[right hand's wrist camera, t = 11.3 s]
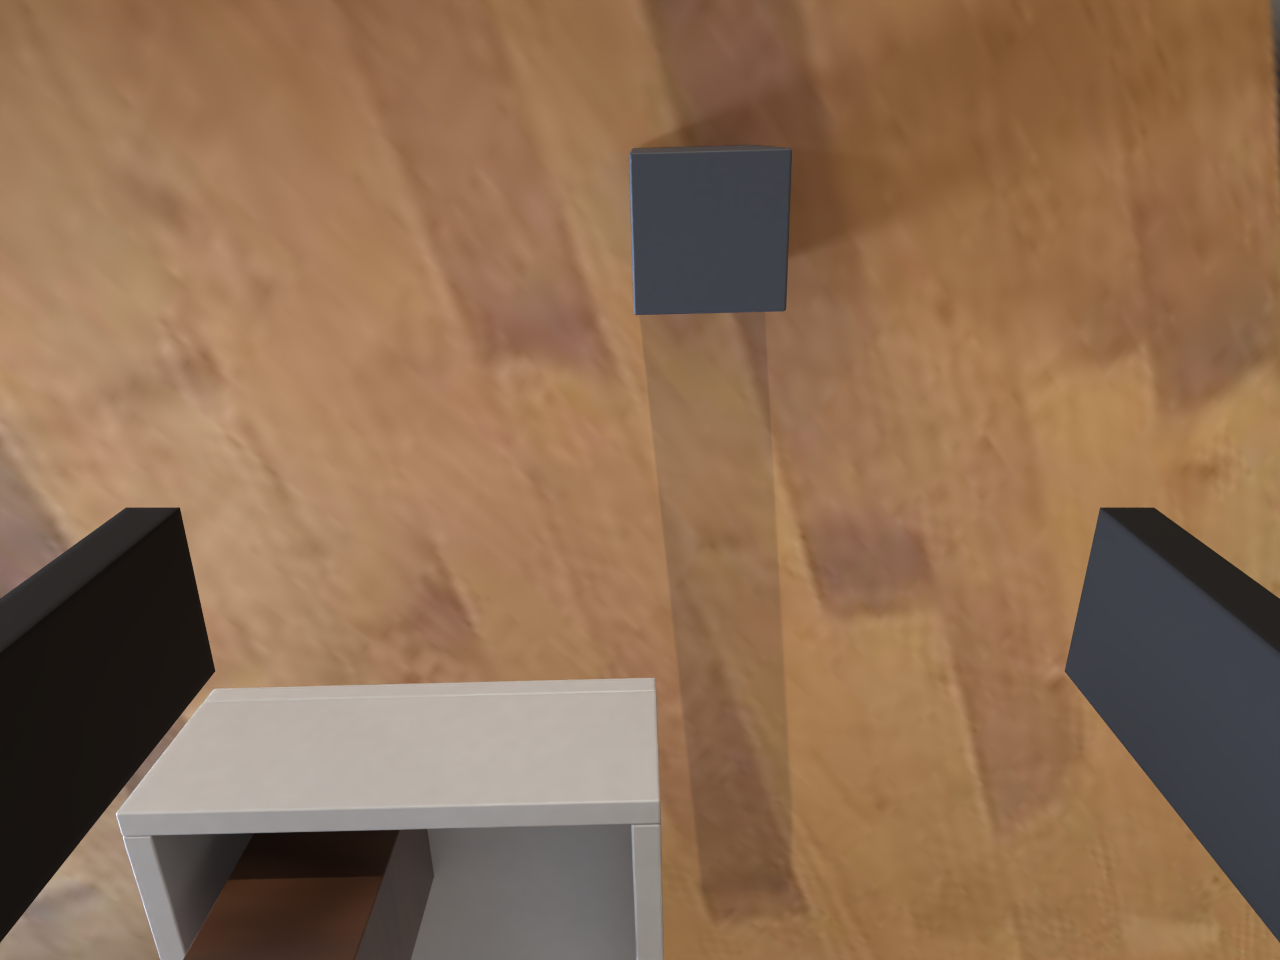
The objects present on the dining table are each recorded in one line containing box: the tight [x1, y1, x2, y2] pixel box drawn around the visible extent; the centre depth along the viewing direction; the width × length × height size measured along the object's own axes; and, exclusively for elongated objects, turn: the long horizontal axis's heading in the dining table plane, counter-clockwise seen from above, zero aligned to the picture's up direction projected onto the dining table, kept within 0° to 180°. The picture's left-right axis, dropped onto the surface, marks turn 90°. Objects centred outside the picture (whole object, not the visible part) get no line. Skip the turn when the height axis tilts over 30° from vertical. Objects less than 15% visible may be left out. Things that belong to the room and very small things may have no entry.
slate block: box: [629, 145, 792, 315], centre depth 28 cm, size 4×4×8 cm
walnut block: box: [183, 829, 434, 960], centre depth 26 cm, size 4×4×8 cm
